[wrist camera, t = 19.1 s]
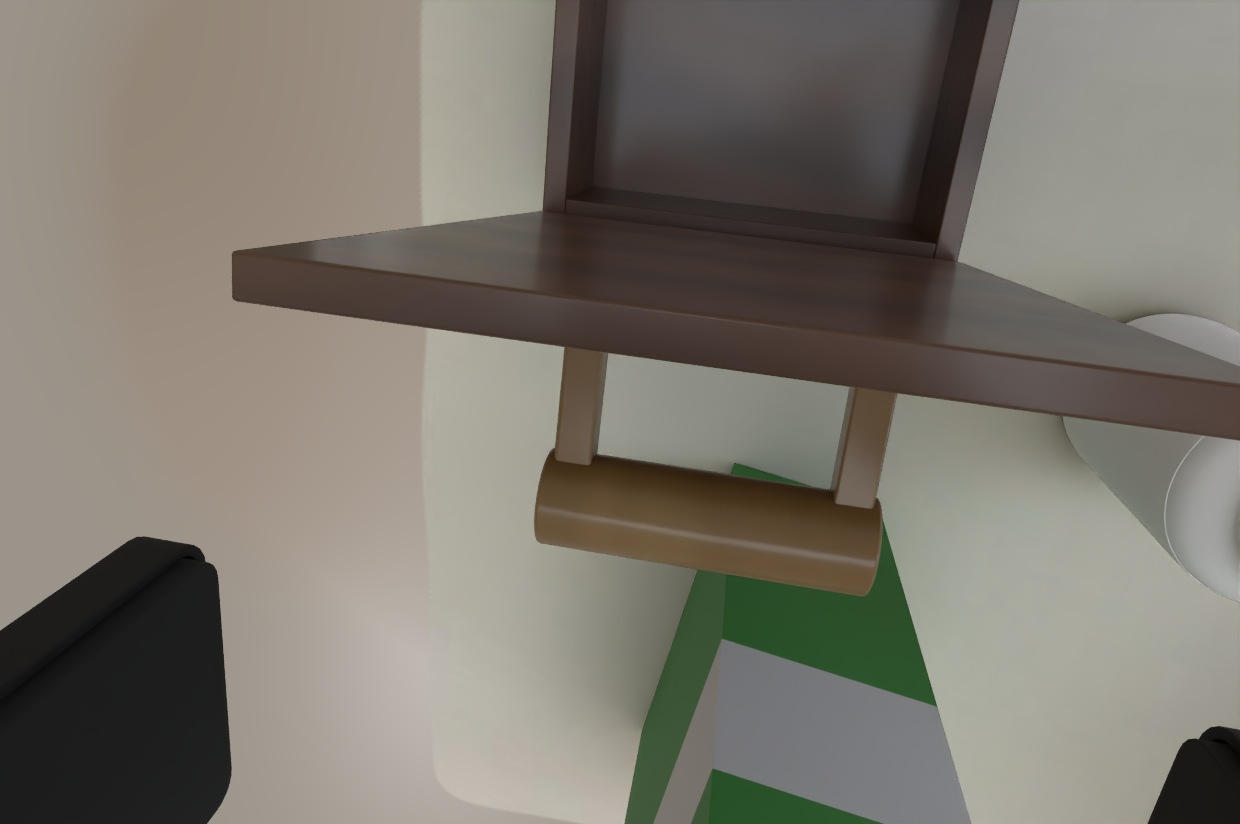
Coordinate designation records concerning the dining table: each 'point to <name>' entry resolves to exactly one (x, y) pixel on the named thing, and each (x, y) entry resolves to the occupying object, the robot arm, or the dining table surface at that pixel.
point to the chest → (777, 116)
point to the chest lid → (744, 364)
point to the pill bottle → (1176, 469)
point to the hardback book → (795, 710)
